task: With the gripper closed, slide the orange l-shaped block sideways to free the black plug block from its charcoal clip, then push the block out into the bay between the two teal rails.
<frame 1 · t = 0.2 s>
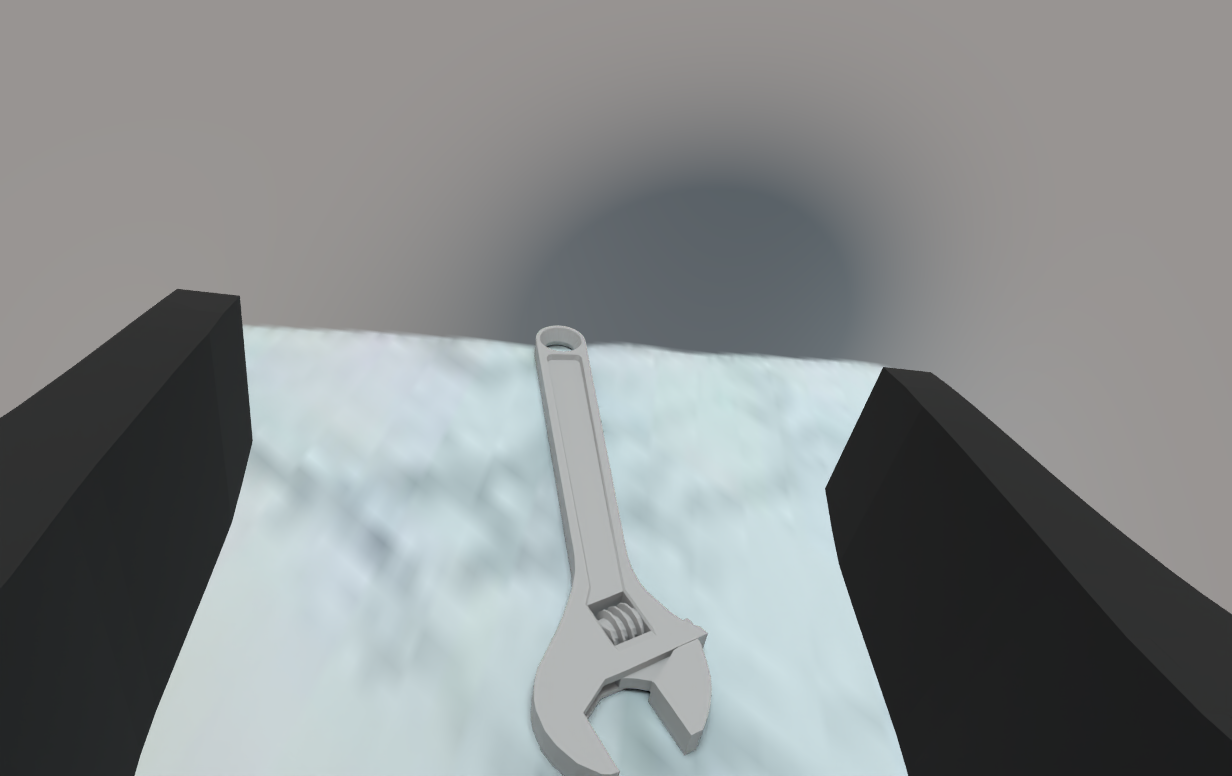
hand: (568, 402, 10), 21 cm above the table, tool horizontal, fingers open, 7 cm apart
adjustable wrench: (600, 522, 39), on the table
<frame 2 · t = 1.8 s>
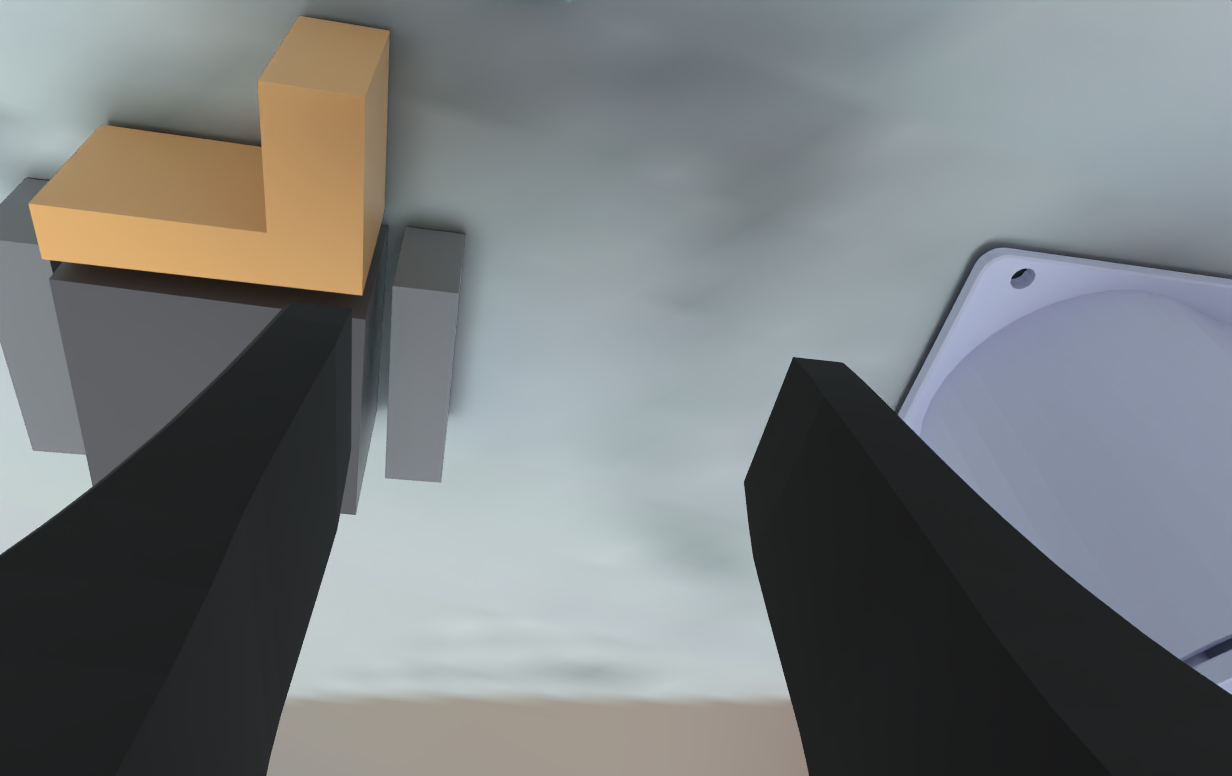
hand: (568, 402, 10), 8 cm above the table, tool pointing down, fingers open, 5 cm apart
orange l-shaped block: (222, 140, 15), point 2 cm above the table, slide at 0.0 cm
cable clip: (262, 311, 19), on the table
plug block: (264, 305, 19), on the table
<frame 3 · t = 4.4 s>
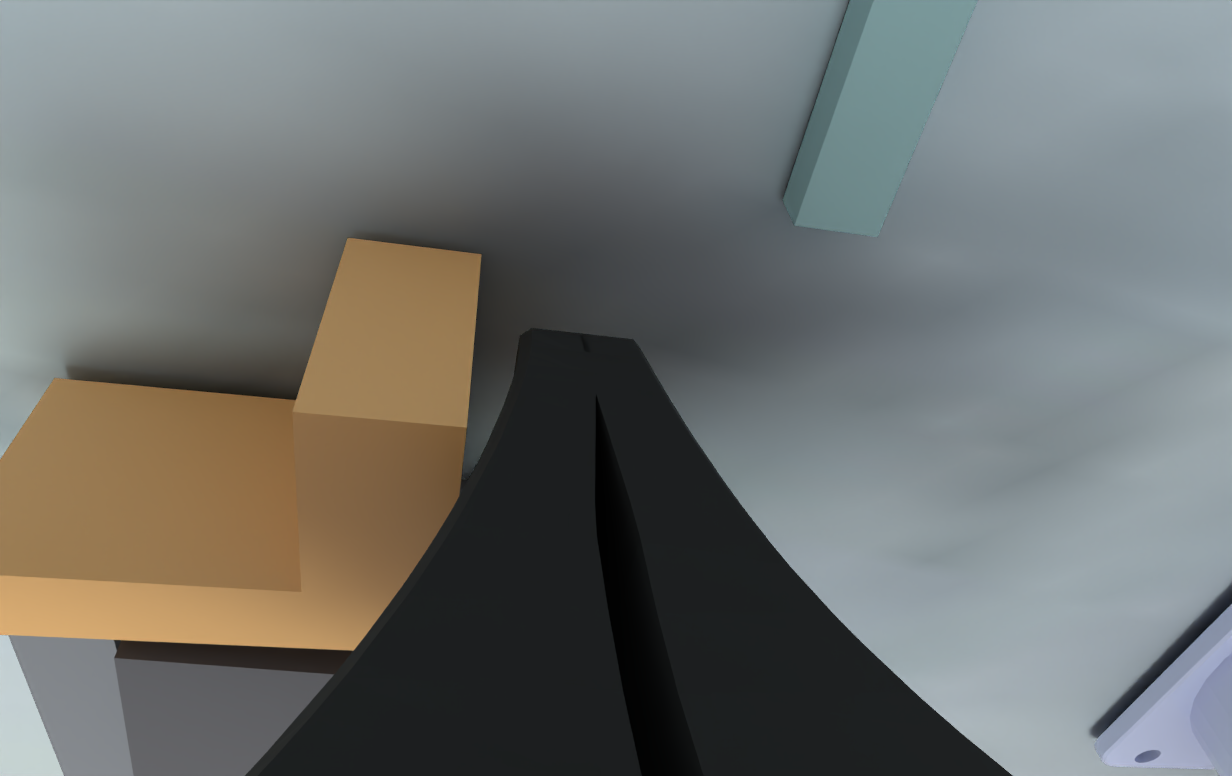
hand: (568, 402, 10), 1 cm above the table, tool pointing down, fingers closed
orange l-shaped block: (231, 433, 10), point 2 cm above the table, slide at 1.4 cm, touching gripper
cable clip: (374, 583, 14), on the table
plug block: (375, 571, 14), on the table
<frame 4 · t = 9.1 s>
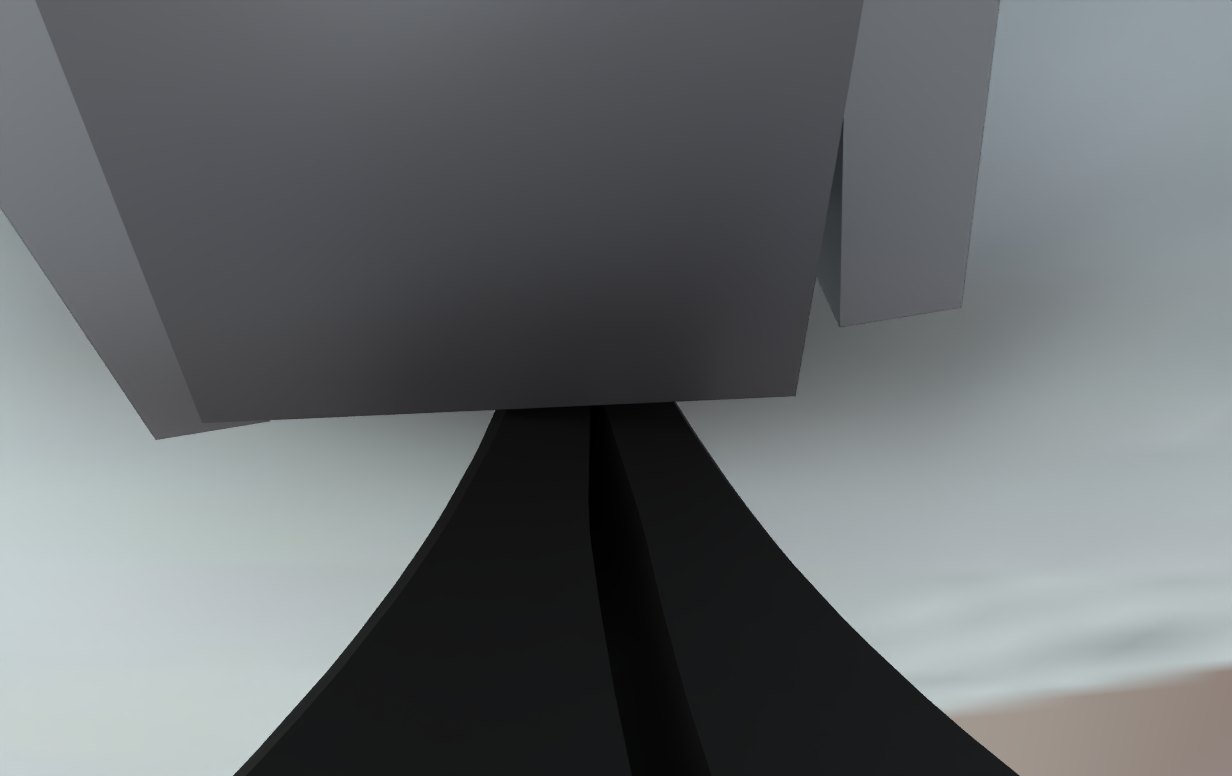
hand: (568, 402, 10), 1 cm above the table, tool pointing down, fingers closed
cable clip: (499, 50, 9), on the table
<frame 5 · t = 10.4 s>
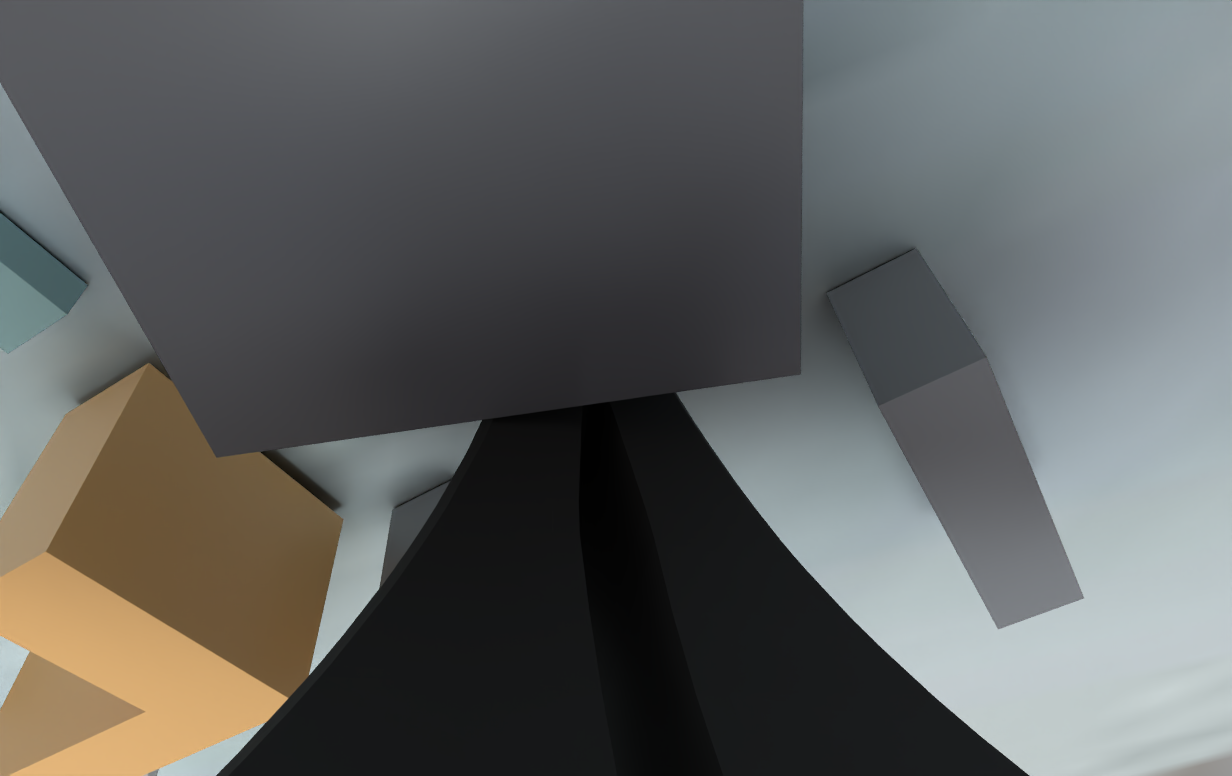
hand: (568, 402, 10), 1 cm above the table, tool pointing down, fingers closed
orange l-shaped block: (83, 606, 11), point 2 cm above the table, slide at 7.2 cm
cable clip: (711, 495, 13), on the table
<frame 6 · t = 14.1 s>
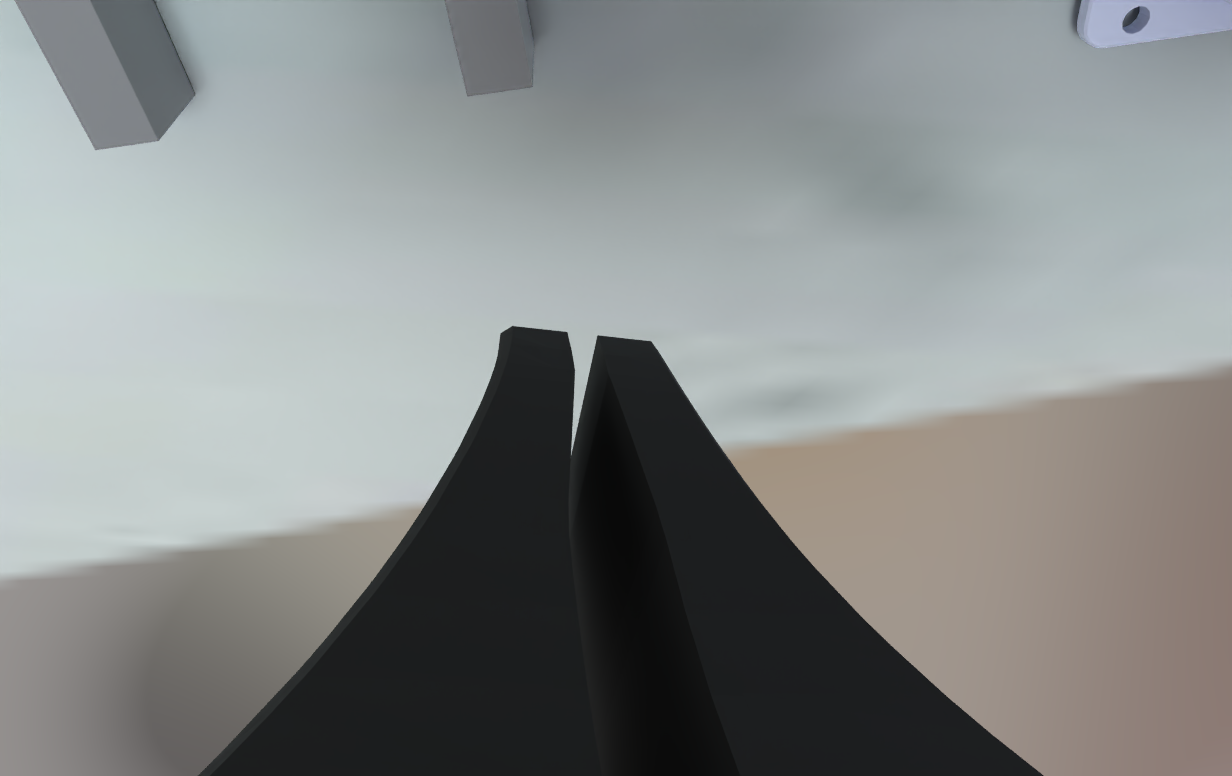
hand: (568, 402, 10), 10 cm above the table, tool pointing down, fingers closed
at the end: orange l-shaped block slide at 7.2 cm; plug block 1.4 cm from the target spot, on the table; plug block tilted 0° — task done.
